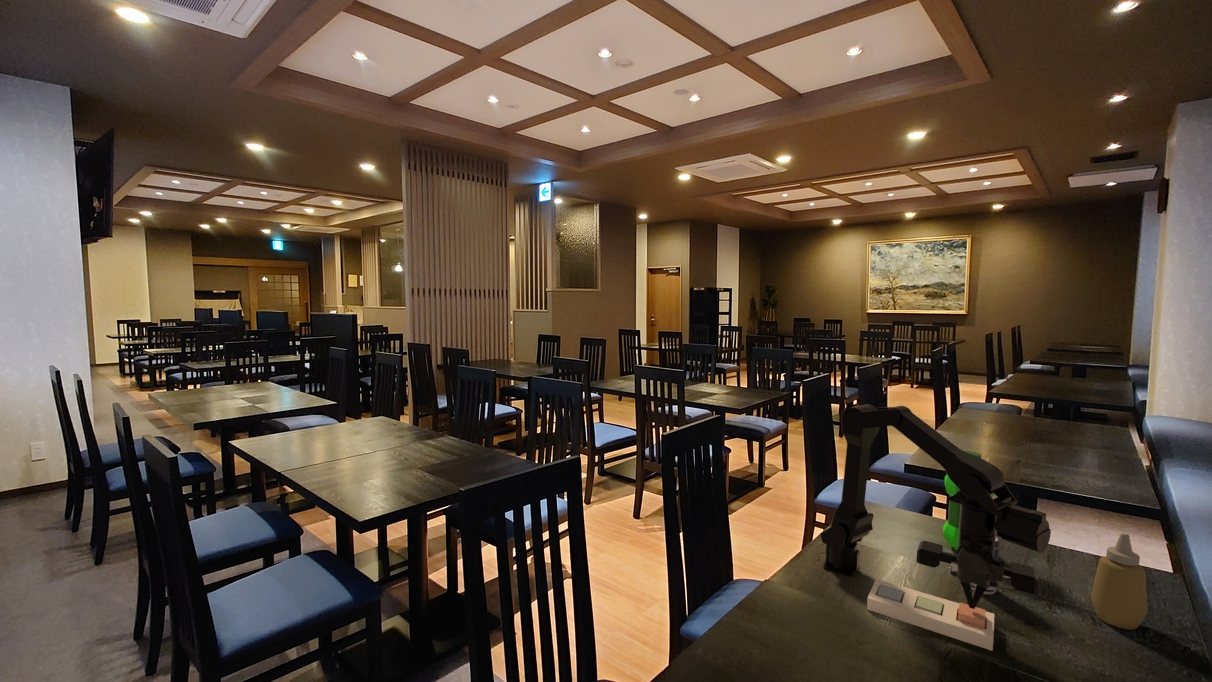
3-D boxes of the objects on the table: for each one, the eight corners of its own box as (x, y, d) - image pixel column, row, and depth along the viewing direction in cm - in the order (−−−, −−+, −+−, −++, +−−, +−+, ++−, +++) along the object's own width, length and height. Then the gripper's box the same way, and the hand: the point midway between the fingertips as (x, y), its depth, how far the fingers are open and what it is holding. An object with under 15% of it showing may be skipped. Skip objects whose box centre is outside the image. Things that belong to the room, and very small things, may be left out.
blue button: (876, 602, 110) (877, 593, 110) (880, 593, 113) (881, 584, 113) (899, 609, 107) (900, 600, 107) (902, 600, 111) (903, 590, 111)
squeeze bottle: (1135, 639, 99) (1144, 548, 98) (1081, 615, 107) (1089, 530, 105) (1152, 626, 103) (1161, 538, 101) (1099, 604, 110) (1107, 522, 108)
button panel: (866, 609, 109) (867, 597, 109) (875, 589, 116) (876, 578, 116) (992, 650, 96) (993, 638, 96) (993, 625, 103) (994, 613, 103)
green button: (915, 614, 106) (916, 605, 106) (918, 604, 109) (918, 595, 109) (940, 622, 103) (940, 613, 103) (942, 612, 107) (942, 602, 106)
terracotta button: (957, 622, 101) (958, 612, 101) (959, 611, 105) (959, 602, 105) (984, 630, 99) (985, 620, 99) (985, 619, 102) (985, 610, 102)
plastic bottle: (933, 538, 140) (939, 446, 137) (978, 541, 138) (984, 448, 135) (950, 556, 130) (956, 458, 128) (998, 561, 128) (1005, 461, 126)
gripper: (914, 532, 99) (910, 610, 101) (1043, 562, 88) (1035, 650, 90) (922, 512, 108) (918, 584, 110) (1039, 537, 97) (1033, 617, 98)
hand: (971, 607), depth 102 cm, fingers closed
